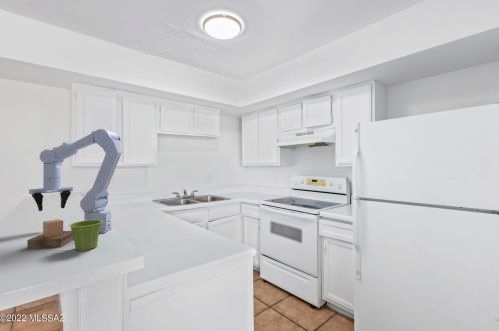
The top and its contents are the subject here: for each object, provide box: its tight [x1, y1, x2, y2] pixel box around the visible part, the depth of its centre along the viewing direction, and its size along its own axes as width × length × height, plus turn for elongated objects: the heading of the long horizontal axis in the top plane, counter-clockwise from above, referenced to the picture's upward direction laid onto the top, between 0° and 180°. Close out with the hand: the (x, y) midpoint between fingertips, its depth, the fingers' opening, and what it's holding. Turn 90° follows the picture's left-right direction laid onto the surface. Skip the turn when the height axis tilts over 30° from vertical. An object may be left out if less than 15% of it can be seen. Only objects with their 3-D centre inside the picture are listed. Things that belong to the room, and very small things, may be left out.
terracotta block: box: [42, 218, 64, 237], centre depth 85 cm, size 4×4×5 cm
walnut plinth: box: [26, 230, 74, 250], centre depth 85 cm, size 10×10×3 cm
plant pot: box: [68, 220, 102, 252], centre depth 80 cm, size 9×9×9 cm
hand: (51, 209), depth 100 cm, fingers open, 7 cm apart
